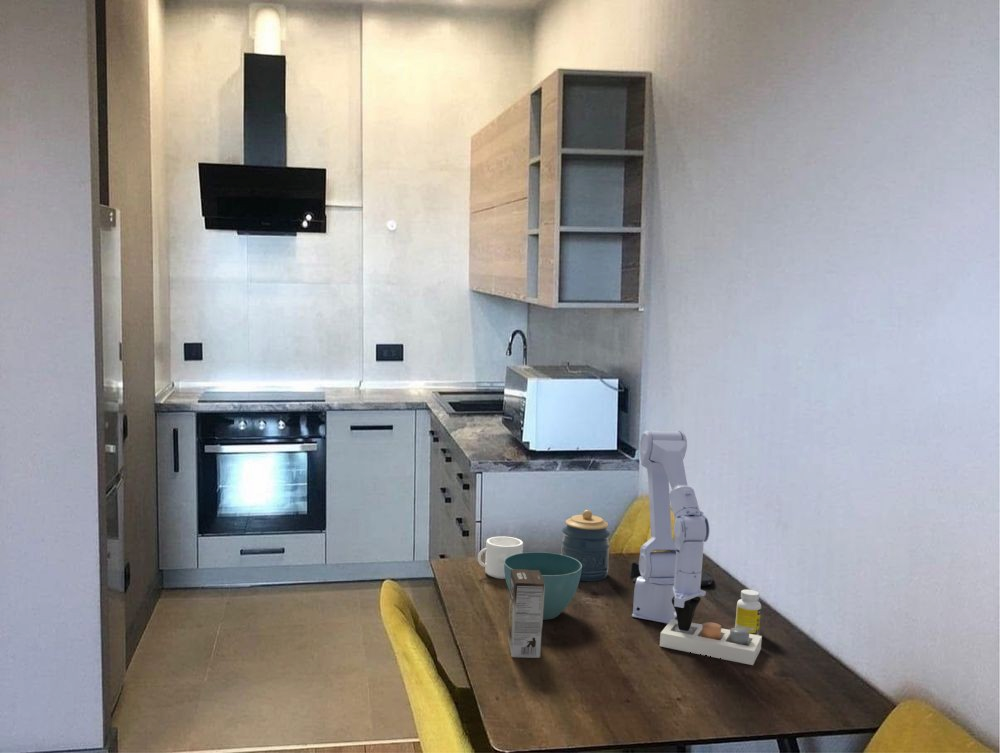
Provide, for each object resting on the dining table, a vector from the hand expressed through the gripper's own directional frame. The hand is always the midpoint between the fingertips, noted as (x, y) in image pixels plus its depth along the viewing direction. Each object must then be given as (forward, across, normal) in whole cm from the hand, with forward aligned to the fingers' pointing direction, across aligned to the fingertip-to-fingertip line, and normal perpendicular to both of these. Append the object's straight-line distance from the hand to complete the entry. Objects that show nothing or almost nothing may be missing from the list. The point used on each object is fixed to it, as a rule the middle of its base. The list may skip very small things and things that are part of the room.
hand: (684, 629), depth 212 cm
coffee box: (+3, -22, +29) cm, 37 cm away
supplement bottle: (+3, +13, -12) cm, 18 cm away
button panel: (+3, 0, -6) cm, 7 cm away
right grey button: (+1, 0, -12) cm, 12 cm away
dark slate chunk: (+4, +44, +14) cm, 46 cm away
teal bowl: (+3, 0, +34) cm, 34 cm away
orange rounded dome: (+1, 0, -6) cm, 6 cm away
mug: (+3, +21, +54) cm, 58 cm away
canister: (+3, +34, +35) cm, 49 cm away
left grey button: (+3, 0, 0) cm, 3 cm away
